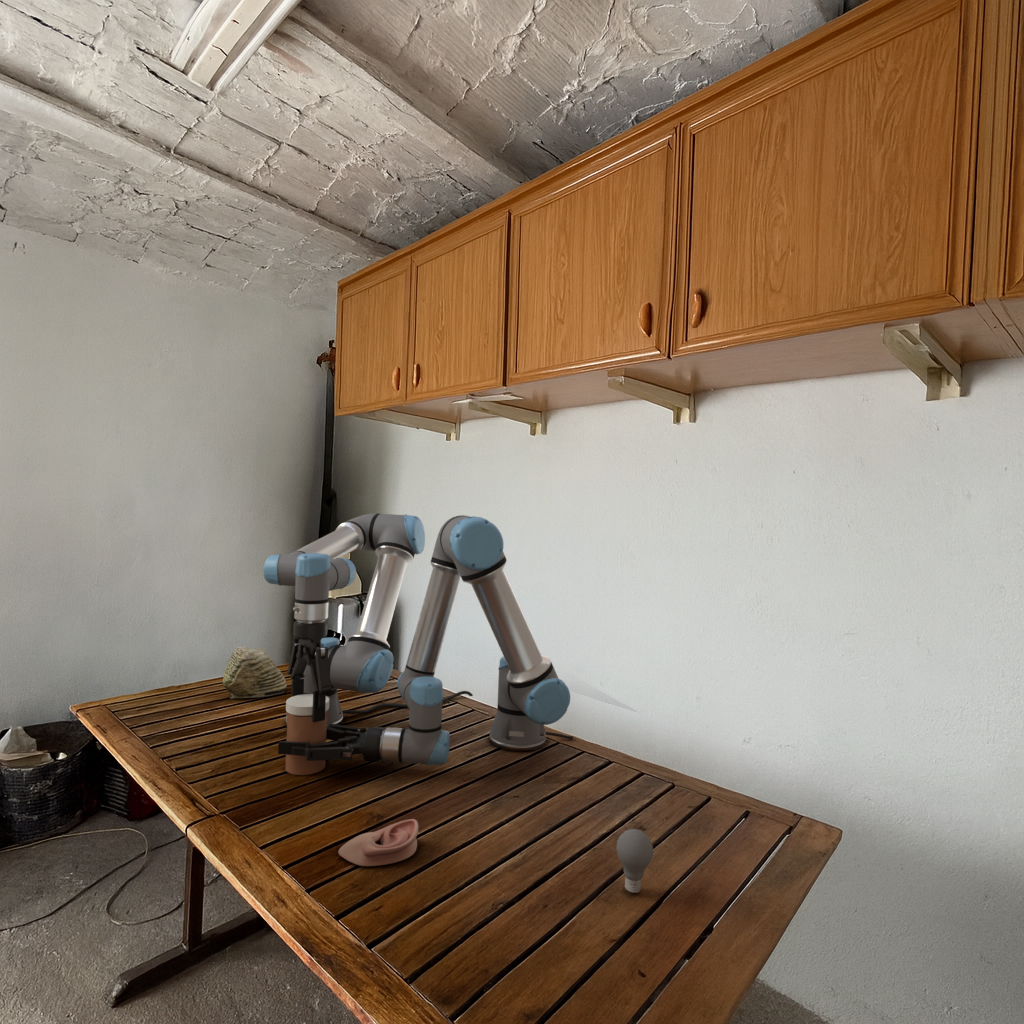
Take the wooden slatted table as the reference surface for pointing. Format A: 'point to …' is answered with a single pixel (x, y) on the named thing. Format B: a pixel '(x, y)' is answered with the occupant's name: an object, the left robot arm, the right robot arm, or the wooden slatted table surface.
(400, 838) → the anatomical model
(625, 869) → the light bulb
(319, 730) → the jar
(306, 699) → the lid
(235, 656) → the fossil
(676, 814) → the wooden slatted table surface
